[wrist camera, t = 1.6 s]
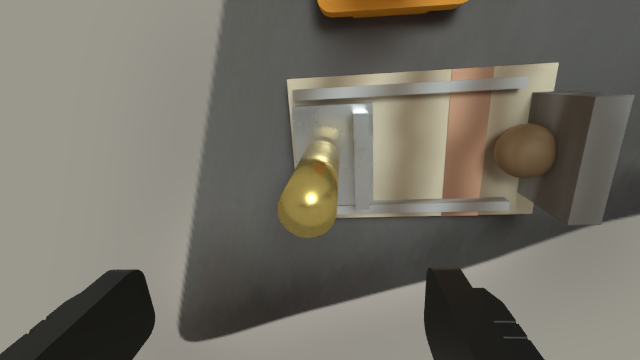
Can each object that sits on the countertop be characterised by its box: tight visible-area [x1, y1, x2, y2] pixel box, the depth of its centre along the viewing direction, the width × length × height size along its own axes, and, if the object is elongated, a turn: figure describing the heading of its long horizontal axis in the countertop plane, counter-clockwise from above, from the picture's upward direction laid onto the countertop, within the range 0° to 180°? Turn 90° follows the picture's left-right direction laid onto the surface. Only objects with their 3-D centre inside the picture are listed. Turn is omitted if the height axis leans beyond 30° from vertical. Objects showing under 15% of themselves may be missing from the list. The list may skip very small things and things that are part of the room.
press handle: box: [277, 101, 373, 238], centre depth 19 cm, size 6×8×12 cm
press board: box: [287, 63, 634, 225], centre depth 23 cm, size 20×12×8 cm, turn 93°
